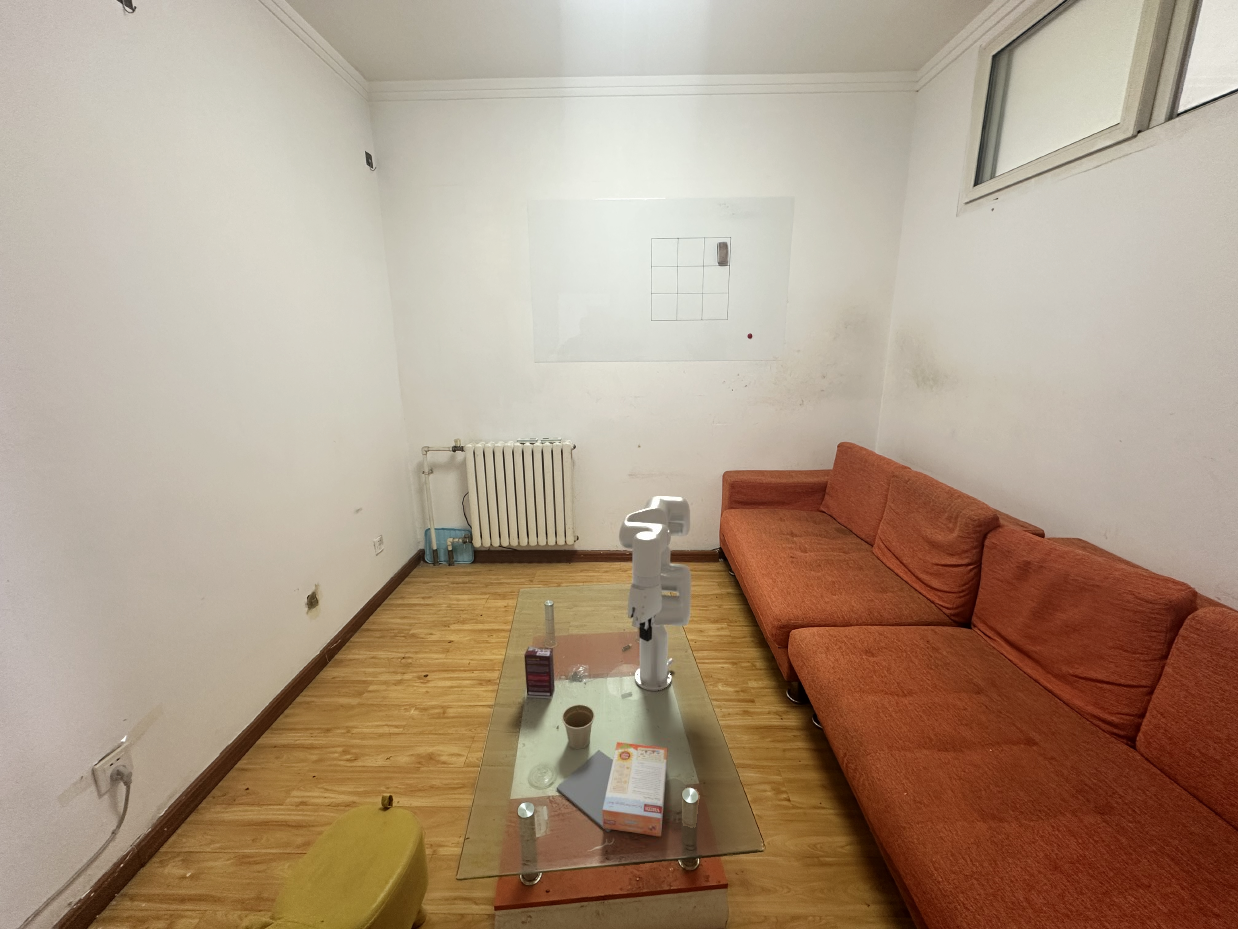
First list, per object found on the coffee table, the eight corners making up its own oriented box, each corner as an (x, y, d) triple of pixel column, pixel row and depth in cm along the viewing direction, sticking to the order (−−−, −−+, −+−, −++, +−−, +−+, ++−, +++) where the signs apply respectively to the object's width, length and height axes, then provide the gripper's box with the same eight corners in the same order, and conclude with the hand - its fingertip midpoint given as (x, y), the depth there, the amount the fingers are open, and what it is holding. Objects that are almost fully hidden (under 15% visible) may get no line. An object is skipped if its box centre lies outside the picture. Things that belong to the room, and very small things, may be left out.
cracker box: (616, 759, 136) (601, 829, 115) (616, 740, 134) (601, 808, 114) (667, 766, 133) (660, 839, 113) (667, 747, 132) (661, 818, 112)
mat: (598, 751, 139) (598, 749, 138) (649, 787, 127) (649, 785, 127) (556, 789, 127) (556, 787, 127) (608, 832, 115) (608, 830, 115)
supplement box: (555, 689, 164) (553, 647, 160) (551, 699, 159) (550, 656, 156) (529, 687, 165) (527, 646, 161) (526, 697, 160) (523, 655, 156)
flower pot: (565, 757, 137) (564, 731, 135) (560, 732, 146) (559, 707, 143) (598, 750, 139) (597, 724, 137) (591, 726, 148) (590, 701, 146)
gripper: (651, 564, 139) (651, 622, 143) (617, 583, 128) (617, 645, 132) (673, 572, 134) (672, 632, 138) (640, 592, 123) (639, 656, 127)
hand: (645, 638), depth 135 cm, fingers closed
